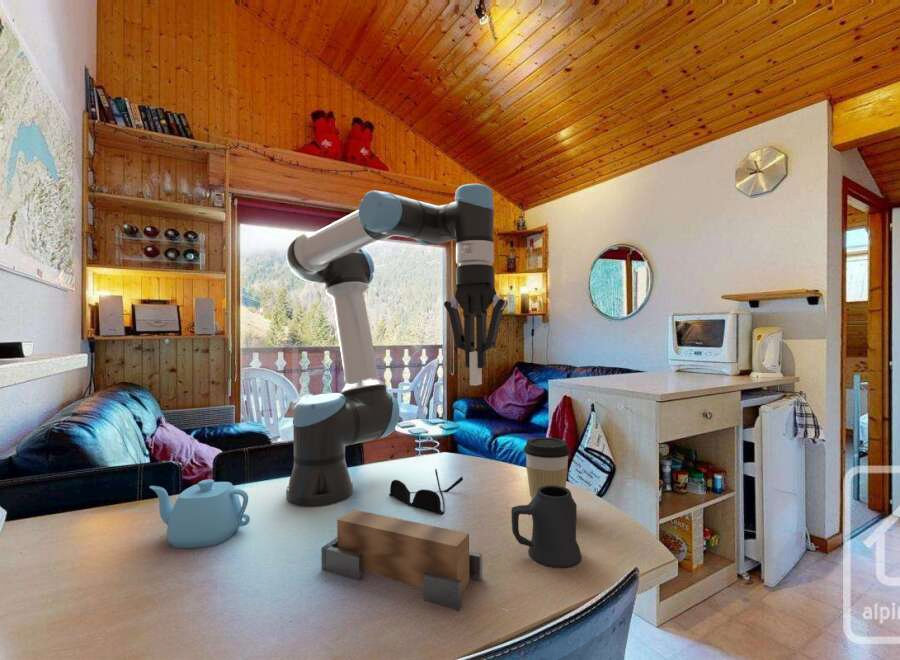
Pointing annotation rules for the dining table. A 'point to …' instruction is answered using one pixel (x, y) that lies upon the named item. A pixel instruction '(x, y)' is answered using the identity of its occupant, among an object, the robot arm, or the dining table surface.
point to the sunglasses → (420, 496)
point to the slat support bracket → (341, 561)
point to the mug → (550, 527)
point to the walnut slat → (404, 548)
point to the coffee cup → (546, 462)
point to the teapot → (203, 514)
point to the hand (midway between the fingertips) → (475, 384)
